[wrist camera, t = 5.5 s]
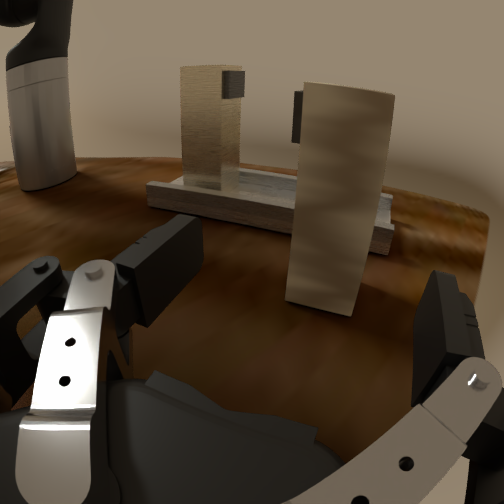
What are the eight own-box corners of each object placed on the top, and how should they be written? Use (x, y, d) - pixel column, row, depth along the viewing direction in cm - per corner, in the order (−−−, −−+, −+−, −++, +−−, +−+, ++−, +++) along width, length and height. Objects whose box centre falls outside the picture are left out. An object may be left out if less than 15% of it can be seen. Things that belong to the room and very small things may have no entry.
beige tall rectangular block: (276, 298, 19) (292, 80, 13) (294, 263, 22) (311, 81, 16) (351, 316, 18) (395, 95, 11) (358, 278, 21) (391, 93, 15)
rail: (147, 205, 30) (139, 70, 23) (190, 180, 36) (188, 68, 30) (387, 255, 23) (419, 84, 17) (388, 215, 30) (408, 84, 23)
